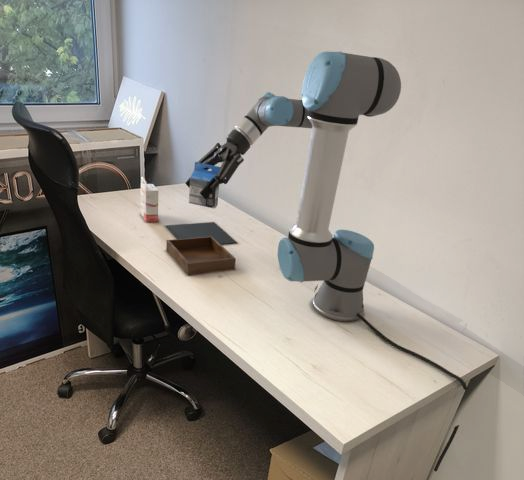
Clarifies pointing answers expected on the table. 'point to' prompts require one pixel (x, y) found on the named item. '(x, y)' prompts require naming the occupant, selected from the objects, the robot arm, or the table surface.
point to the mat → (200, 232)
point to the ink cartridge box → (149, 201)
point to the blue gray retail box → (203, 185)
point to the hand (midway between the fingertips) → (195, 191)
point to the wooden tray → (200, 255)
